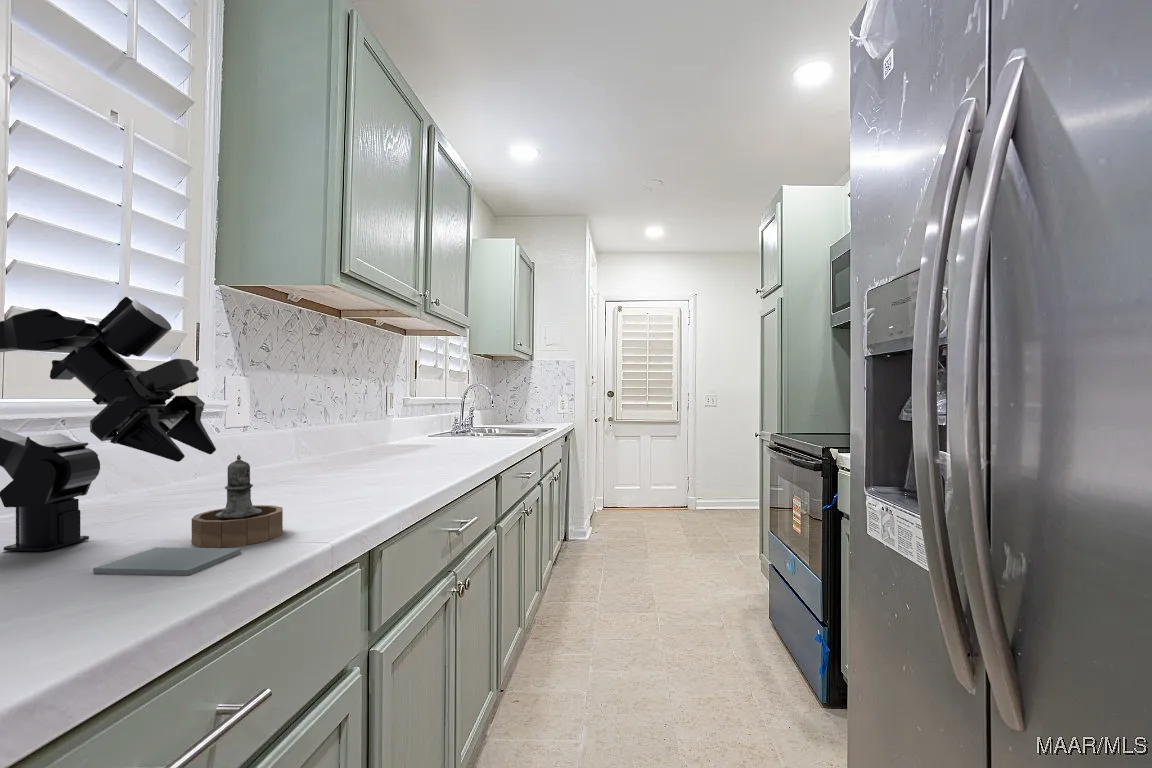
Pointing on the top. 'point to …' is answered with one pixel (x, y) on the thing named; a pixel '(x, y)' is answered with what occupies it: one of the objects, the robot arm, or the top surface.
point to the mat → (168, 561)
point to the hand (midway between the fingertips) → (198, 455)
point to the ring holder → (236, 528)
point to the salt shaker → (238, 493)
